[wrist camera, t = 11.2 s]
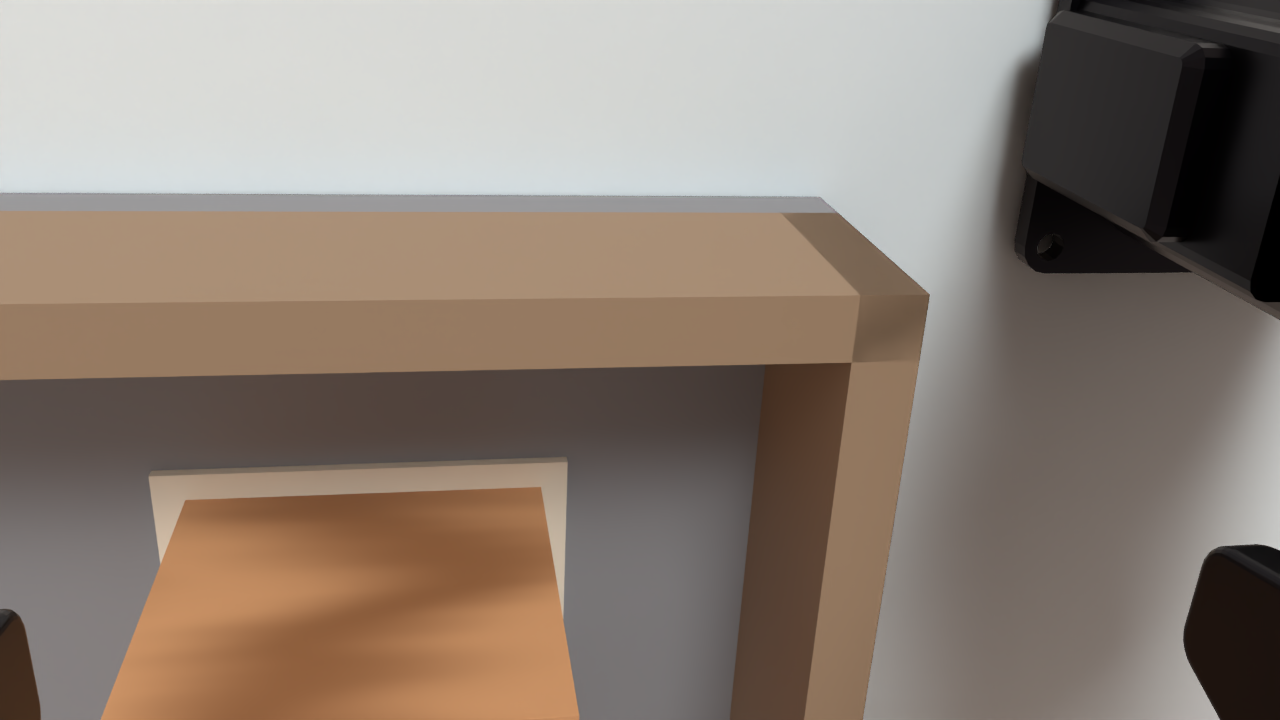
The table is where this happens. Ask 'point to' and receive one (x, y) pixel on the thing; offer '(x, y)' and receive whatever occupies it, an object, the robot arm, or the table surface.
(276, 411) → the arena
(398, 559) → the block
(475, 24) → the table surface
